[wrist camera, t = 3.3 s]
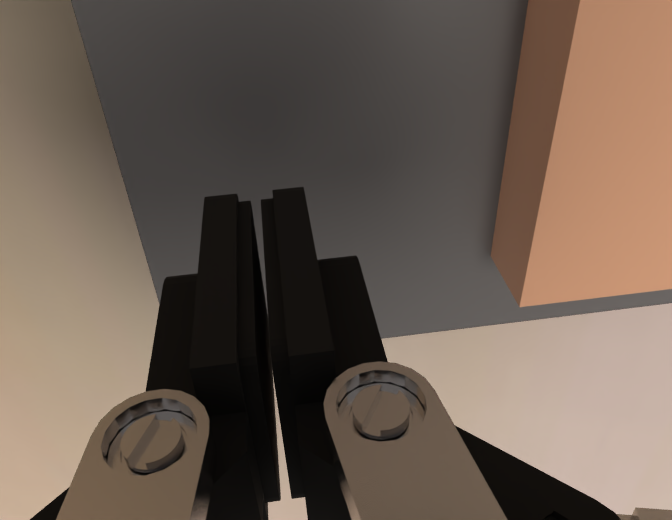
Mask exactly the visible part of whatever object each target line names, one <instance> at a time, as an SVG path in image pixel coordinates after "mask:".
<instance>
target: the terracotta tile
mask: <svg viewBox="0 0 672 520" xmlns="http://www.w3.org/2000/svg"><path fill="white" fill-rule="evenodd" d="M491 258H492V260H493V261H494V263H495V265H496V267H497V268H498V270H499V272H500V274H501V276H502V277H503V279H504V281H505V283H506V284H507V286H508V288H509V290H510V291H511V293H512V295H513V297H514V298H515V300H516V302H517V304H518V306H519V307H526V306H534V305H542V304H551V303H559V302H567V301H576V300H584V299H592V298H600V297H609V296H617V295H625V294H634V293H642V292H650V291H659V290H667V289H672V0H528V6H527V13H526V20H525V27H524V33H523V40H522V47H521V54H520V60H519V67H518V74H517V81H516V87H515V94H514V101H513V108H512V114H511V121H510V128H509V135H508V141H507V148H506V155H505V162H504V169H503V175H502V182H501V189H500V196H499V202H498V209H497V216H496V223H495V229H494V236H493V243H492V250H491Z"/></svg>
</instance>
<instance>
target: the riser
mask: <svg viewBox="0 0 672 520" xmlns="http://www.w3.org/2000/svg"><path fill="white" fill-rule="evenodd" d="M71 2H72V6H73V9H74V12H75V16H76V19H77V23H78V26H79V30H80V33H81V36H82V40H83V43H84V47H85V50H86V54H87V57H88V60H89V64H90V67H91V71H92V74H93V77H94V81H95V84H96V88H97V91H98V95H99V98H100V101H101V105H102V108H103V112H104V115H105V119H106V122H107V125H108V129H109V132H110V136H111V139H112V143H113V146H114V149H115V153H116V156H117V160H118V163H119V167H120V170H121V173H122V177H123V180H124V184H125V187H126V191H127V194H128V197H129V201H130V204H131V208H132V211H133V215H134V218H135V221H136V225H137V228H138V232H139V235H140V239H141V242H142V245H143V249H144V252H145V256H146V259H147V263H148V266H149V269H150V273H151V276H152V280H153V283H154V287H155V290H156V293H157V297H158V300H159V304H160V300H161V294H162V288H163V283H164V279H165V278H166V277H169V276H178V275H187V274H196V273H198V263H199V252H200V240H201V229H202V218H203V206H204V198H205V197H208V196H218V195H227V194H237V195H238V199H239V202H241V201H251V205H252V211H253V218H254V225H255V232H256V239H257V246H258V252H259V259H260V266H261V273H262V280H263V287H264V294H265V300H266V307H267V292H266V277H265V261H264V245H263V230H262V214H261V199H270V198H273V193H272V190H276V189H286V188H295V187H304V191H305V197H306V202H307V207H308V213H309V218H310V223H311V229H312V234H313V239H314V245H315V250H316V255H317V260H320V259H328V258H337V257H346V256H355V255H356V256H357V257H358V260H359V263H360V266H361V270H362V273H363V277H364V280H365V284H366V287H367V291H368V294H369V298H370V301H371V305H372V309H373V312H374V316H375V319H376V323H377V326H378V330H379V333H380V337H381V339H382V338H390V337H398V336H406V335H415V334H423V333H431V332H439V331H447V330H455V329H464V328H472V327H480V326H488V325H496V324H504V323H513V322H521V321H529V320H537V319H545V318H553V317H562V316H570V315H578V314H586V313H594V312H602V311H611V310H619V309H627V308H635V307H643V306H651V305H660V304H668V303H672V289H667V290H659V291H650V292H642V293H634V294H625V295H617V296H609V297H600V298H592V299H584V300H576V301H567V302H559V303H551V304H542V305H534V306H526V307H519V306H518V304H517V302H516V300H515V298H514V297H513V295H512V293H511V291H510V290H509V288H508V286H507V284H506V283H505V281H504V279H503V277H502V276H501V274H500V272H499V270H498V268H497V267H496V265H495V263H494V261H493V260H492V258H491V250H492V243H493V236H494V229H495V223H496V216H497V209H498V202H499V196H500V189H501V182H502V175H503V169H504V162H505V155H506V148H507V141H508V135H509V128H510V121H511V114H512V108H513V101H514V94H515V87H516V81H517V74H518V67H519V60H520V54H521V47H522V40H523V33H524V27H525V20H526V13H527V6H528V0H71ZM267 314H268V308H267Z"/></svg>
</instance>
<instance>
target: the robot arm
mask: <svg viewBox="0 0 672 520" xmlns="http://www.w3.org/2000/svg"><path fill="white" fill-rule="evenodd" d="M272 193H273V198H270V199H261V214H262V230H263V245H264V261H265V277H266V292H267V307H266V300H265V294H264V287H263V280H262V273H261V266H260V259H259V252H258V246H257V239H256V232H255V225H254V218H253V211H252V205H251V201H241V202H239V199H238V195H237V194H227V195H218V196H208V197H205V198H204V206H203V218H202V229H201V240H200V252H199V263H198V273H196V274H187V275H178V276H169V277H166V278H165V279H164V283H163V288H162V294H161V300H160V306H159V312H158V319H157V325H156V331H155V337H154V343H153V349H152V356H151V362H150V368H149V374H148V380H147V387H146V392H144V393H141V394H138V395H135V396H133V397H130V398H128V399H126V400H125V401H123V402H122V403H120V404H118V405H117V406H115V407H114V408H112V409H111V410H110V411H109V412H108V413H107V414H106V415H105V416H104V417H103V418H102V419H101V420H100V422H99V423H98V425H97V427H96V428H95V430H94V432H93V433H92V435H91V437H90V439H89V442H88V444H87V447H86V449H85V451H84V454H83V456H82V459H81V461H80V463H79V466H78V468H77V471H76V473H75V475H74V478H73V480H72V483H71V485H70V487H69V488H68V489H67V490H65V491H64V492H63V493H62V494H60V495H59V496H58V497H57V498H56V499H54V500H53V501H52V502H51V503H50V504H48V505H47V506H46V507H45V508H43V509H42V510H41V511H40V512H39V513H37V514H36V515H35V516H34V517H33V518H31V519H30V520H268V502H273V501H280V499H281V496H280V479H279V464H278V449H277V434H276V418H275V403H274V388H273V377H274V383H275V390H276V397H277V403H278V410H279V417H280V423H281V430H282V437H283V443H284V450H285V457H286V463H287V470H288V477H289V483H290V490H291V496H292V499H294V498H301V497H305V499H306V507H307V515H308V520H672V510H662V509H648V508H635V510H634V512H633V514H632V515H622V514H616V513H614V512H613V511H611V510H610V509H609V508H607V507H606V506H604V505H603V504H601V503H600V502H598V501H597V500H595V499H593V498H591V497H589V496H587V495H586V494H584V493H582V492H580V491H578V490H576V489H574V488H572V487H570V486H568V485H567V484H565V483H563V482H561V481H559V480H557V479H555V478H553V477H551V476H550V475H548V474H546V473H544V472H542V471H540V470H538V469H536V468H534V467H532V466H531V465H529V464H527V463H525V462H523V461H521V460H519V459H517V458H515V457H514V456H512V455H510V454H508V453H506V452H504V451H502V450H500V449H498V448H497V447H495V446H493V445H491V444H489V443H487V442H485V441H483V440H481V439H479V438H478V437H476V436H474V435H472V434H470V433H468V432H466V431H464V430H462V429H461V428H459V427H457V426H455V425H454V424H453V422H452V420H451V418H450V416H449V415H448V413H447V411H446V409H445V407H444V406H443V404H442V402H441V400H440V399H439V397H438V395H437V393H436V391H435V390H434V388H433V387H432V386H431V385H430V383H429V382H428V381H427V380H426V378H425V377H423V376H422V375H420V374H419V373H417V372H416V371H414V370H413V369H411V368H408V367H405V366H403V365H400V364H397V363H390V362H387V358H386V355H385V351H384V347H383V344H382V340H381V337H380V333H379V330H378V326H377V323H376V319H375V316H374V312H373V309H372V305H371V301H370V298H369V294H368V291H367V287H366V284H365V280H364V277H363V273H362V270H361V266H360V263H359V260H358V257H357V256H356V255H355V256H346V257H337V258H328V259H320V260H317V255H316V250H315V245H314V239H313V234H312V229H311V223H310V218H309V213H308V207H307V202H306V197H305V191H304V187H295V188H286V189H276V190H272ZM267 308H268V314H267ZM272 369H273V373H272Z"/></svg>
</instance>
